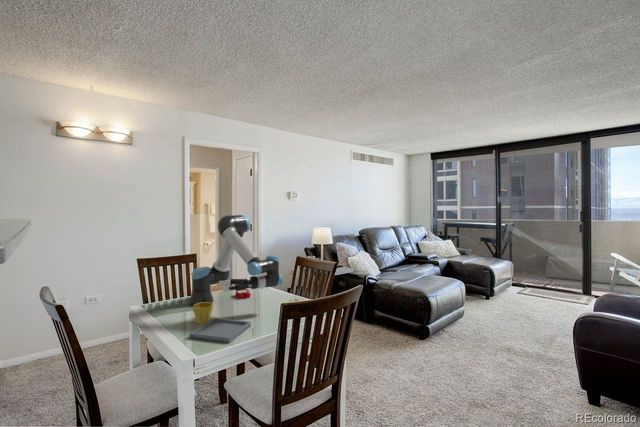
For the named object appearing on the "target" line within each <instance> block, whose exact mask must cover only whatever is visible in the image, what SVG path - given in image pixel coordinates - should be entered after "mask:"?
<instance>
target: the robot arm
mask: <svg viewBox="0 0 640 427" xmlns="http://www.w3.org/2000/svg"><path fill="white" fill-rule="evenodd" d="M250 228H251V222H250V219H249V217H247V216H246V215H244V214H243V215H241V214H237V215H232V214H230V215H229V214H227V215H224V216H222V217H221V218H220V219H219V221H218V223H217V230H218V233H219V234H220V235H221V237H222V238H223V239H224V241H223V244H222V247H221V249H220V251H219V254H218V257H217V260H216V261H214V262H213V264H212V266H211V267H210V266H201V267H197V268H195V269H193V270H192V272H191V273H192V274H191V290H192V291H191V294H190V297H189V301H188V304H189V305H190V306H191V307H193V305H195V304H197V303H201V302H210V303H212V304H213V303H214V297H213V294H212V291H211V287H212V286H214V285H219V287H222V292H230V291H239V290H243V289H246V290H248V289H251V290H257V289H262V290H263V289H265V288H274V287H275V288H276V287H281V286H282V285H283V283H284V278H283V274H281V273H280V272H279V271H280V269H279V268H280V266H279V265H280V262H279V261H280V259H279V255H277V254H269V255H267V256H266V259H262V260H261V259H260V258H259V257H258V256H257V254H255V252H254V251H253V250H252V249H251V248H250V246H249V245H248V244H247V242H245V240H244V239H243V236H244V233H247V232H249V231H250ZM235 252H236V253H237V254H238V255H239V257H240V258H241V259H242V260H243V261H244V263H245V264H246V265H247V267H246V268H247V269H246V271H247V273H248V274H249V275H251V276H250V277H249V279H248V278H231V279H230V277H231V275H232V274H231V268H230V266H229V265H230V263H231V260H232V257H233V255H234V253H235Z"/></svg>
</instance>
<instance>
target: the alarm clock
mask: <svg viewBox="0 0 640 427" xmlns="http://www.w3.org/2000/svg"><path fill="white" fill-rule="evenodd" d="M234 297H235V298H236V299H238V300H242V299H249V298H251V293H250V290H249V289H243V290H239V291H237V290H235V295H234Z"/></svg>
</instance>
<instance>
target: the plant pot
mask: <svg viewBox="0 0 640 427" xmlns="http://www.w3.org/2000/svg"><path fill="white" fill-rule="evenodd" d="M213 305H214V304H213V303H210V302H201V303H197V304H195V305H193V306H192V311H193V313H194V316H195V320H196V324H198V325H204V324H206V323H207V322H209V321H210V320H211V319H210V318H211V315H212V311H213V309H214V308H213V307H214V306H213Z"/></svg>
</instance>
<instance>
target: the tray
mask: <svg viewBox="0 0 640 427" xmlns="http://www.w3.org/2000/svg"><path fill="white" fill-rule="evenodd" d="M251 324H252V323H251V321H249V320H248V321H247V320H246V321H245V320H239V319H229V318H220V317H219V318H218V317H214V318H213V319H210V320H209V322H207V323H205V324H201V326H199V327H197V328H195V329H194V330H193V331H191V332H189V339H191V338H194V339H195V340H199V339H200V340H201V341H208V342H214V343H215V342H216V343H217V342H218V343H223V344H224V343H226V344H231V343H232V342H233V341H234V340H235V339H237V338H238V337H239V336H240V335H242V334H243V333H245V331H247V330H248V329H249V328H251ZM194 339H193V340H194Z"/></svg>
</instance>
